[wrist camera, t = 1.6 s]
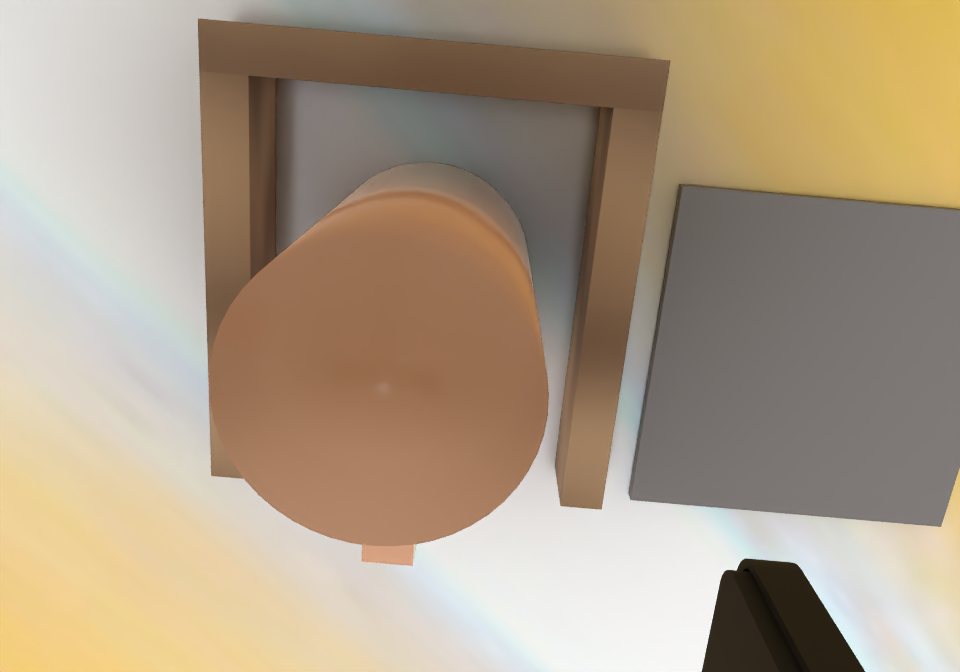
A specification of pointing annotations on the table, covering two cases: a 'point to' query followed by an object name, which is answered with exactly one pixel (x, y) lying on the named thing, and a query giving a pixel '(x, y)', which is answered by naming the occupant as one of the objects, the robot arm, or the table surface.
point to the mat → (805, 358)
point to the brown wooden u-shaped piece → (457, 70)
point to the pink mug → (388, 365)
